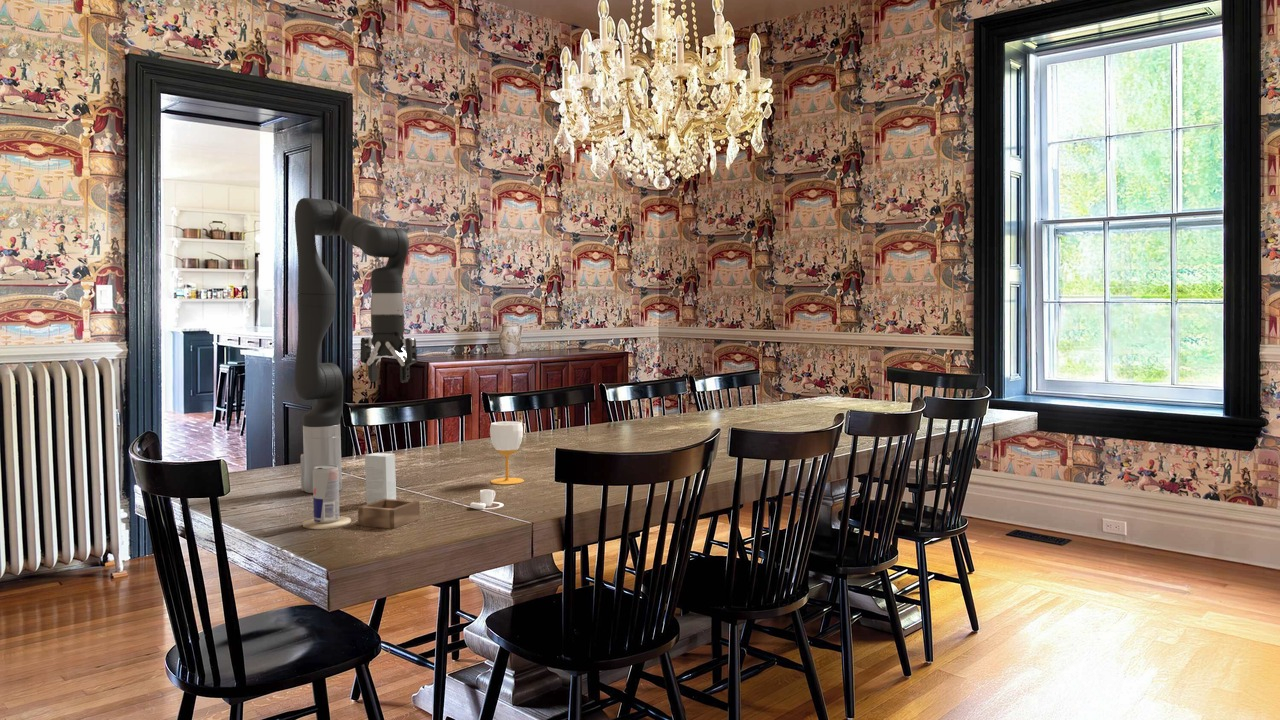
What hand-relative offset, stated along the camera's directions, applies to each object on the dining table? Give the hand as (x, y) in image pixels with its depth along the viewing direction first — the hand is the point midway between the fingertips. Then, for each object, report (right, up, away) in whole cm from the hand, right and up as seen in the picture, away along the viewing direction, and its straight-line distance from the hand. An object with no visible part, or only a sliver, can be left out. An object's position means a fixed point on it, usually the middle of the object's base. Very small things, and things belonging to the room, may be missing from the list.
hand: (389, 381), depth 214 cm
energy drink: (-10, -31, -14) cm, 35 cm away
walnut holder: (+3, -31, -12) cm, 33 cm away
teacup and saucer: (+19, -31, +4) cm, 36 cm away
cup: (+23, -28, +34) cm, 50 cm away
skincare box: (-4, -30, +8) cm, 31 cm away
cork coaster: (-10, -31, -14) cm, 35 cm away
